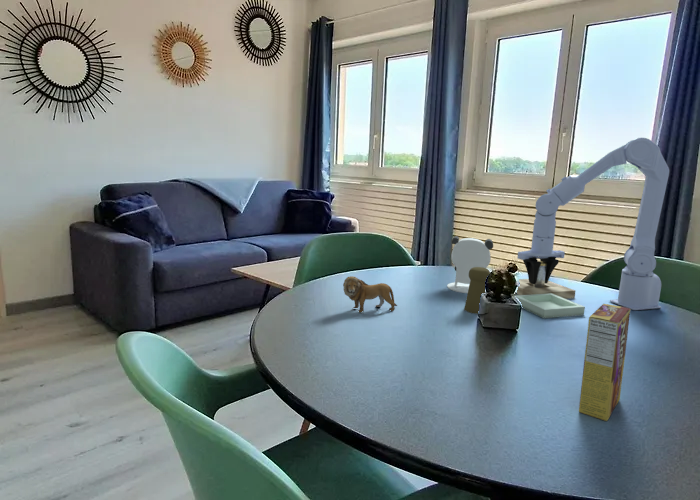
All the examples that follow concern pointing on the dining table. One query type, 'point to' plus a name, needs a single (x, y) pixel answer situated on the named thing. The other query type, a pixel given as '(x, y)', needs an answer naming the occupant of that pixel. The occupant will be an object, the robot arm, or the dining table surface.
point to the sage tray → (550, 305)
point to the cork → (475, 288)
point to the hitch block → (545, 289)
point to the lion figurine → (367, 292)
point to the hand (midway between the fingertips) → (538, 282)
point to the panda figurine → (468, 260)
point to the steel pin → (541, 276)
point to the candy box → (604, 361)
